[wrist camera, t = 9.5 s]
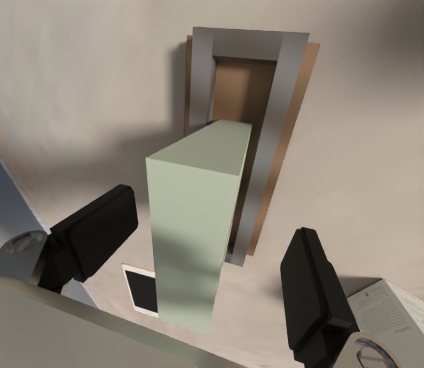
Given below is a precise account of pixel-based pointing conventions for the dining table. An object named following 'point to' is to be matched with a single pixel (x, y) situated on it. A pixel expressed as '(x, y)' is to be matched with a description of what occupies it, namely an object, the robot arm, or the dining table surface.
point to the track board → (249, 109)
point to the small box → (392, 320)
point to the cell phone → (142, 289)
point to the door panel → (194, 218)
